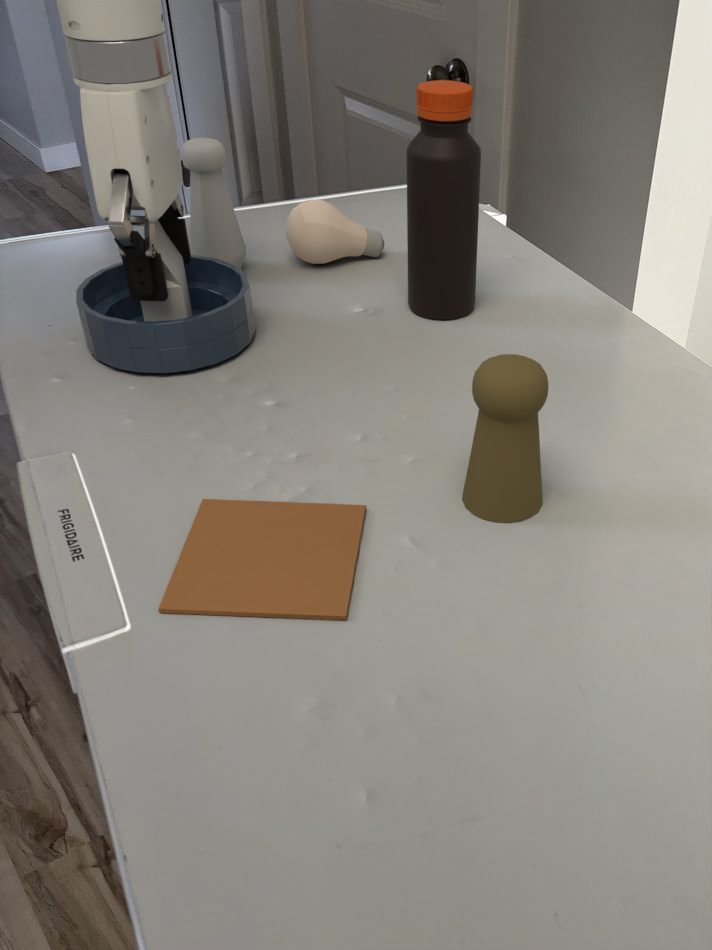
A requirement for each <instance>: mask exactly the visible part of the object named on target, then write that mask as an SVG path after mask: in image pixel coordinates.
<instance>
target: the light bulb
mask: <svg viewBox="0 0 712 950" xmlns="http://www.w3.org/2000/svg"><path fill="white" fill-rule="evenodd" d="M285 238H286V240H287V243H288V245H289V247H290V249H291V251H292V252H293V254H295V255H296V256H297V258H298V259H300V260H301V261H304V262H307V263H309V264H311V265H317V264H318V265H320V264H321V265H323V264H325V265H326V264H328V263H330V262H334V261H336V260H340V259H343V258H346V257H360V256H366V257H371V258H378V257H379V256H380V254H381V253H382V252H383V251H384V248H385V240H384V238H383V234H382V232H381V231H380V230H376V229H375V230H374V229H370V228H365V226H364V225H363V224H360V223H358V222H355V221H353V220H352V219H350V218H349V217H347V216H346V215H345V214H344V213H343V212H341V211H340V210H339V209H338V208H337V207H336V206H335V205H333V204H332V203H330V202H327V201H325V200H323V199H307V200H305V201H302V202H300V203H298V204H297V205H296V206H295V207H294V208H293V209H291V211H290V213H289V215H288V218H287V219H286V226H285Z"/></svg>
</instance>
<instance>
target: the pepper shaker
mask: <svg viewBox="0 0 712 950" xmlns="http://www.w3.org/2000/svg"><path fill="white" fill-rule="evenodd" d="M471 393H472V397H473V401H474V403H475V405H476V406H477V408H478V413H477V418H476V423H475V429H474V432H473V433H474V434H473V438H472V443H471V449H470V454H469V460H468V464H467V470H466V475H465V480H464V486H463V491H462V497H461V498H462V499H461V500H462V502H463V505H464V507H465V509H467V510H468V511H469V512H470V513H471V514H472V515H474V516H476V517H478V518H480V519H481V520H486V521H489V522H490V521H491V522H494V523H505V524H506V523H508V524H509V523H515V522H523V521H524V520H527V519H529V518H532V517H533V516H535V515H536V514H537V513H538V512H540V510H541V508H542V506H543V505H544V503H543V501H544V500H543V481H542V460H541V446H540V445H541V443H540V442H541V441H540V423H539V412H540V411H541V410H542V409H543V407H544V405H545V403H546V402H547V398H548V394H549V379H548V374H547V372H546V371H545V369H544V367H543V365H541V364H540V363H539V362H537V361H536V360H535V359H532V358H530V357H528V356H525V355H520V354H515V353H505V354H504V353H503V354H497V355H495V356H491V357H488V358H487V359H485V360H483V361H482V362H481V363H480V365H479V366H478V367H477V369H476V370H475V371H474V374H473V377H472V385H471Z"/></svg>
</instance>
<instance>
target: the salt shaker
mask: <svg viewBox="0 0 712 950" xmlns="http://www.w3.org/2000/svg"><path fill="white" fill-rule="evenodd" d="M181 160H182V161H181V162H182V164H183V167H184V168H186V169H187V170H189V219H190V220H189V221H190V222H189V224H190V227H189V228H190V229H189V230H190V231H189V247H190V253H191V255H198V256H203V257H209V258H215V259H219V260H222V261H224V262H227V263H230V264H232V265H235V266H236V267H238V268H239V269H240V270H241V271H242V268H243V265H244V262H245V257H246V255H247V246H246V243H245V239H244V236H243V234H242V231H241V228H240V225H239V221H238V218H237V215H236V212H235V209H234V205H233V201H232V198H231V196H230V193H229V189H228V187H227V182H226V180H225V176H224V174H223V173H224V172H223V170H222V169H223V168H224V167H225V166H226V164H227V154H226V150H225V146H224V144H223V143H222V142H220V140H217V139H216V138H210V137H195V138H191V139H188V140H186V141H184V142H183V144H182V146H181Z"/></svg>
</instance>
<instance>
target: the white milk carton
mask: <svg viewBox="0 0 712 950" xmlns="http://www.w3.org/2000/svg"><path fill="white" fill-rule="evenodd" d="M155 248H156V253H157V254H161V259H162V264H163V270H164V275H165V280H166V285H167V291H168V298H167V299H166V301H140V302H141V306H142V311H143V316H144V321H152V322H156V321H166V320H176V319H183V318H187V317H191V316H193V315H192V309H191V303H190V297H189V291H188V285H187V280H186V274H185V268H184V262H183V257H182V255H181V254H180V253H179V251H178V250H177V248H176V247H175V245H174V244H173V243H172V241H171V240H170V238H169V237H168V236H167V234H166V233H165V231H164V229H163V228H162V226H161V224H160V223H159V221H158V220H157V221H155Z"/></svg>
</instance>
